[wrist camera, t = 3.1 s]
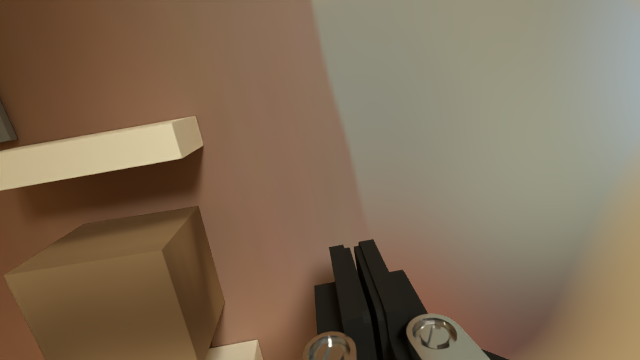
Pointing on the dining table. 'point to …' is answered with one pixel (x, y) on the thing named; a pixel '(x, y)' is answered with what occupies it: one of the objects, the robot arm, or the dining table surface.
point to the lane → (107, 156)
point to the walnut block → (123, 290)
